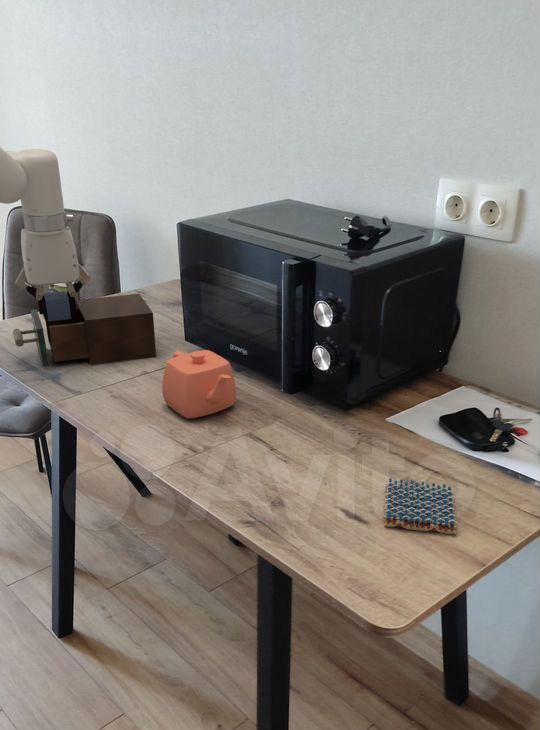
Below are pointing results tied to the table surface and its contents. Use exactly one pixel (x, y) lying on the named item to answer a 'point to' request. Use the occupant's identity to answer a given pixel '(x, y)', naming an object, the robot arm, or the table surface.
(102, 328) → the cabinet
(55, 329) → the drawer
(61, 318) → the block
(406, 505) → the woven mat
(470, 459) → the table surface
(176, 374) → the teapot
